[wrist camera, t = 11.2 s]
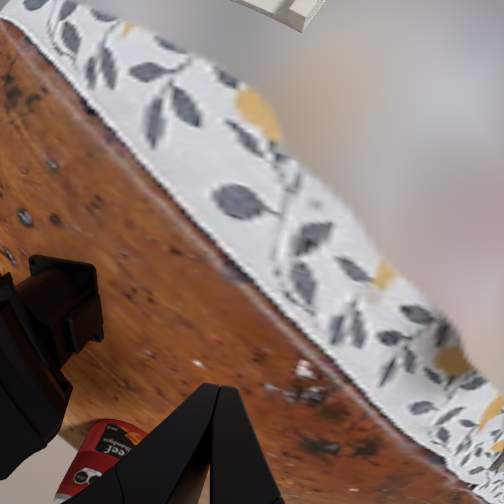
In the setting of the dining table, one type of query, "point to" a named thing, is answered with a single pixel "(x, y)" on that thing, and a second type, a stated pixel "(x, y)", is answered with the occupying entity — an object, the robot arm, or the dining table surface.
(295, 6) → the gauge track
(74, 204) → the dining table surface
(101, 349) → the dining table surface
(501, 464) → the adjustable wrench
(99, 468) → the canned food
